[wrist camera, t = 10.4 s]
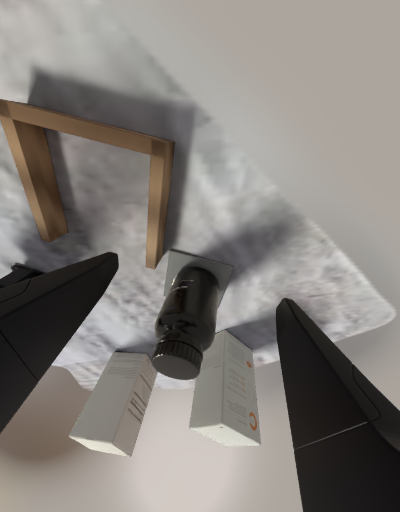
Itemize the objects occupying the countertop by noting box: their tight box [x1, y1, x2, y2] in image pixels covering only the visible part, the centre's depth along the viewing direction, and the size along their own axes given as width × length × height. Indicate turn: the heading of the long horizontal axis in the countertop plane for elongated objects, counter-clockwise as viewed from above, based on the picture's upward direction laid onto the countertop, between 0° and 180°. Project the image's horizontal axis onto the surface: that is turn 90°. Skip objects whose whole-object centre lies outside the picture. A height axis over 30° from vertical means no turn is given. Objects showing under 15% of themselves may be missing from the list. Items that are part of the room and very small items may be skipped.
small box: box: [189, 330, 261, 446], centre depth 29 cm, size 8×6×13 cm
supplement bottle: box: [151, 267, 219, 380], centre depth 22 cm, size 7×7×12 cm
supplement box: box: [69, 352, 157, 457], centre depth 38 cm, size 9×9×15 cm
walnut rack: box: [0, 99, 175, 269], centre depth 20 cm, size 14×15×3 cm
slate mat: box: [164, 250, 234, 306], centre depth 27 cm, size 9×9×1 cm
